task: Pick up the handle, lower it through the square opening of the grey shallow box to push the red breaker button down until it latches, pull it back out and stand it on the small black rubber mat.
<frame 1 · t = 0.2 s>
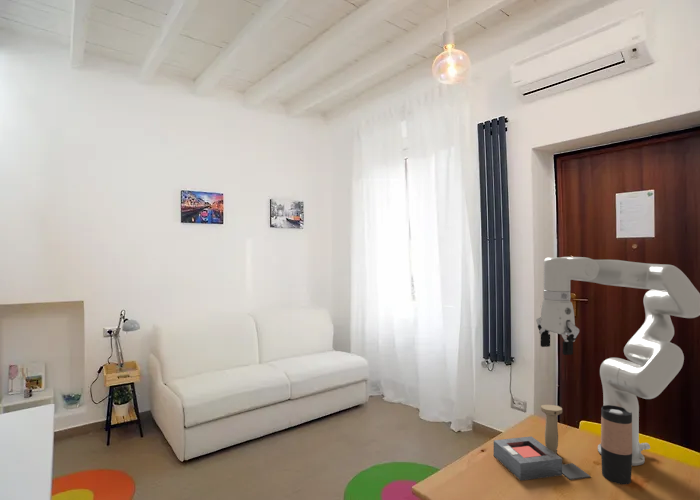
hand: (556, 350, 122), 36 cm above the table, tool pointing down, fingers open, 9 cm apart
travel mug: (616, 478, 114), on the table
handle: (551, 453, 128), on the table
mat: (571, 471, 117), on the table
button: (526, 453, 121), point 4 cm above the table, slide at 0.0 cm
grey shallow box: (526, 464, 121), on the table
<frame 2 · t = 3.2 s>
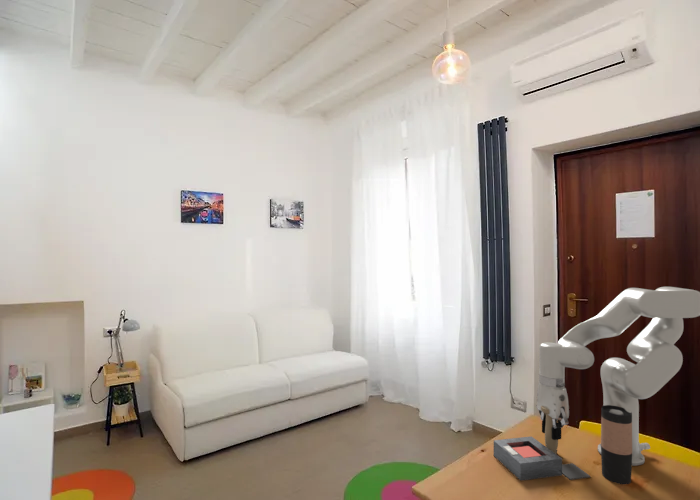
hand: (551, 435, 128), 6 cm above the table, tool pointing down, fingers closed on handle, 3 cm apart
handle: (551, 453, 128), on the table, touching gripper
everything else where it was.
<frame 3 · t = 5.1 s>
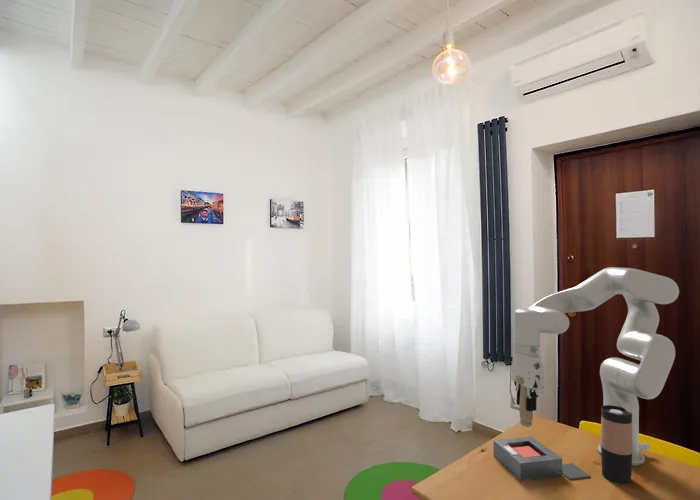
hand: (526, 406, 121), 18 cm above the table, tool pointing down, fingers closed on handle, 3 cm apart
handle: (526, 425, 121), point 12 cm above the table, touching gripper
everything else where it was.
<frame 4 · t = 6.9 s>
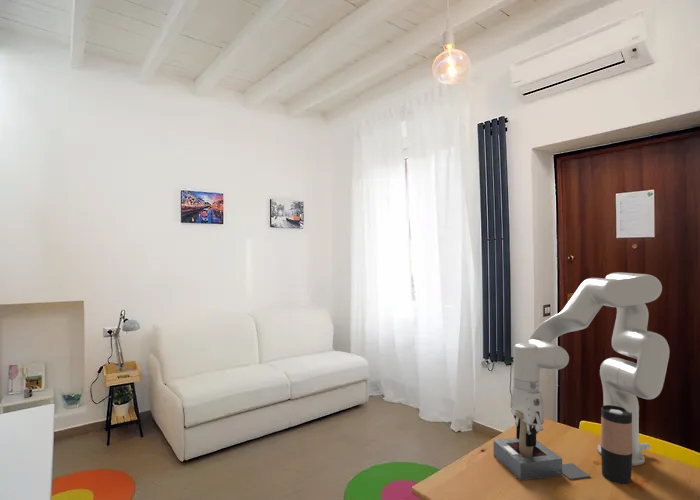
hand: (526, 441, 121), 7 cm above the table, tool pointing down, fingers closed on handle, 3 cm apart
handle: (525, 460, 121), point 1 cm above the table, touching button, gripper
button: (526, 461, 121), point 1 cm above the table, slide at 2.6 cm, touching handle
everything else where it was.
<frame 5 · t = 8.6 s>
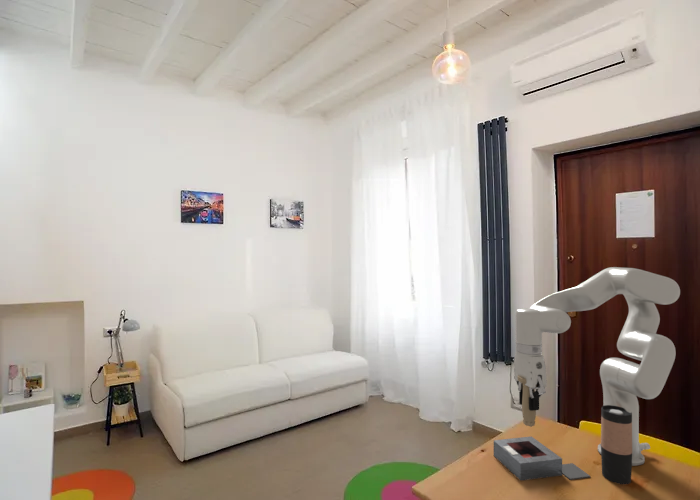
hand: (529, 406, 121), 18 cm above the table, tool pointing down, fingers closed on handle, 3 cm apart
handle: (529, 425, 121), point 12 cm above the table, touching gripper
button: (526, 461, 121), point 1 cm above the table, slide at 2.6 cm
everything else where it was.
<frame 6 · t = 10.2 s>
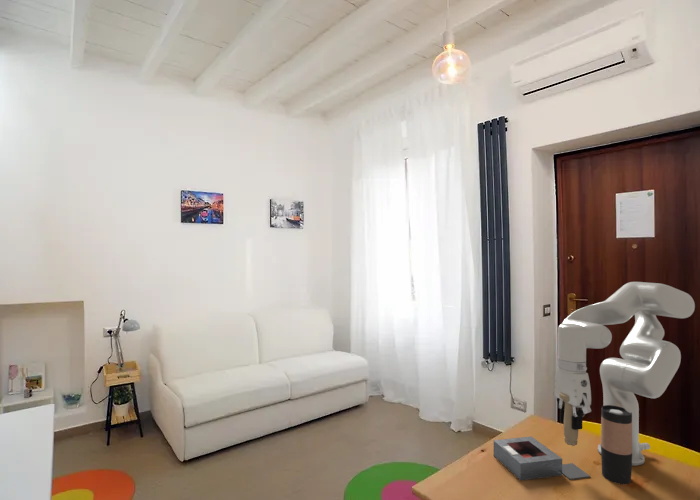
hand: (571, 424, 117), 14 cm above the table, tool pointing down, fingers closed on handle, 3 cm apart
handle: (570, 444, 117), point 8 cm above the table, touching gripper
everything else where it was.
when the fingers open (7 cm above the table, at t = 11.7 s): handle stays where it is, resting on mat.
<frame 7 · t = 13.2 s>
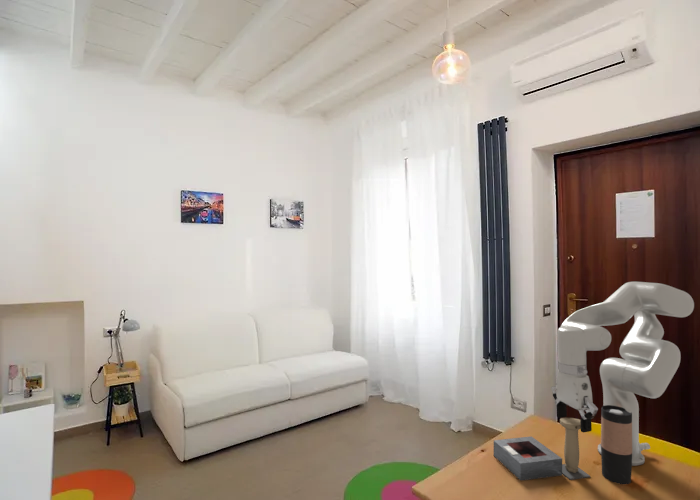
hand: (573, 423, 118), 14 cm above the table, tool pointing down, fingers open, 9 cm apart
handle: (571, 471, 117), resting on mat
everything else where it was.
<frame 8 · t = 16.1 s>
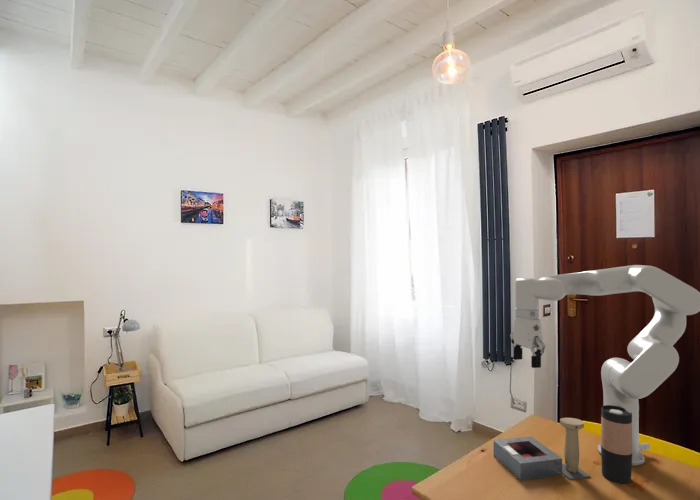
hand: (526, 363, 133), 28 cm above the table, tool pointing down, fingers open, 9 cm apart
nothing on the table moved.
at the end: button slide at 2.6 cm; handle 0.2 cm from the mat (horizontally); handle tilted 0° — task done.
